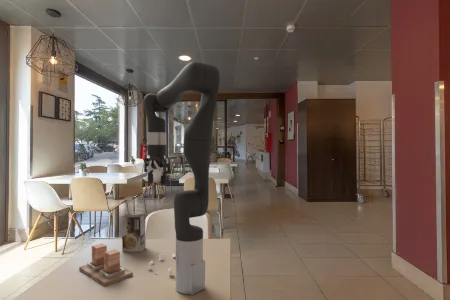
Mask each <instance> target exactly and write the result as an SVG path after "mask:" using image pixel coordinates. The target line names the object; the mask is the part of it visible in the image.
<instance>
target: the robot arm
mask: <svg viewBox="0 0 450 300" xmlns="http://www.w3.org/2000/svg"><path fill="white" fill-rule="evenodd" d="M220 79H221V75H220V71H219V69H218V67H217V66H215V65H212V64H208V63H202V62H198V61H192V62H189V63H188V64H186V65H185V66H184V67H183V68H182V69H181V70H180V72H179V73H178V74H177V75H176V76H175V78H174V79H172V81H171V82H169V84H168V85H166V86H164V87H163V88H162V89H160V90H159V91H158V92H157V94H156V93H147V94H146V95H145V96H144V97H143V101H142V104H143V109H144V112H145V116H146V120H147V139H146V140H147V141H146V155H147V156H149V157H145V158H144V163H143V165H144V166H143V172H144V173H146V174H147V183H148V184H153V183H154V172H155V171H156V170H157V171H158V172H159V173H160V186H165V185H166V184H167V175H169V174H171V158H165V156H166V155H167V133H166V131H167V129H166V128H167V127H166V126H167V125H166V124H167V123H166V119H164V118H162V117H159V116H158V115H157V114H156V113H166V112H169V110H170V109H171V107H172V106H174V105H176V104H177V103H179V102H180V101H181V100H182V99H183V96H184V93H185V92H192V93H199V94H200V93H201V97H200V103H199V107H198V108H197V111H196V112H195V115H194V116H193V117H192V119H191V120H190V122H189V123H188V125H187V126H186V129H185V130H184V138H183V147H182V148H183V150H182V152H183V155H184V158H185V160H186V162H187V163H188V165H189V167H190V169H191V171H192V174H193V178H194V188H193V189H189V190H181V191H177V192H176V193H175V196H174V200H173V212H174V213H173V215H174V216H173V217H174V218H173V219H174V230H175V231H174V232H175V254H176V257H175V290H176V292H178V293H180V294H183V295H190V296H193V295H195V294H197V293H199V292H200V291H203V290H204V289H206V260H204V229H203V228H202V227H200V226H199V225H194V224H191V223H190V222H191V221H190V219H191V218H197V217H202V216H205V215H206V213H207V211H208V209H209V208H208V207H209V198H210V197H209V193H210V192H209V189H210V188H209V187H210V185H209V174H210V161H211V154H212V153H211V151H212V145H213V144H212V143H213V128H214V119H215V111H216V105H217V100H218V95H219V89H220V82H221V81H220Z"/></svg>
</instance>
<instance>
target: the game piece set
mask: <svg viewBox="0 0 450 300" xmlns="http://www.w3.org/2000/svg"><path fill="white" fill-rule="evenodd" d="M158 256H159V261H162V260H164V259H163V258H164V254H162V253H161V254H159V255H158ZM171 257H172V258H176V251H173V253H172V255H171ZM152 265H154V261H153V260H151V261H148V263H147V269H148V270H149V271H150V270H151V268H152V267H151V266H152ZM153 272H154V275H160V273H159V272H156V271H155V270H153ZM167 272H168V276H169V277H171V276H172V275H173V272H174V270H173V268H170V267H169V268H168V270H167Z"/></svg>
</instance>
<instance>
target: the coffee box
mask: <svg viewBox="0 0 450 300" xmlns="http://www.w3.org/2000/svg"><path fill="white" fill-rule="evenodd" d="M121 231H122V232H121V233H122V234H121V235H122V236H121V237H122V239H121V241H122V250H121V251H122V252H131V253H132V252H133V253H134V252H135V253H139V252H140V253H141V252H142V251H144V250H145V249H146V247H147V246H146V213H126V214H124V215H123V216H122V217H121Z"/></svg>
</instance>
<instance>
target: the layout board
mask: <svg viewBox="0 0 450 300" xmlns="http://www.w3.org/2000/svg"><path fill="white" fill-rule="evenodd" d="M106 251H108V250H107V245H106V244H104V243H98V244H94V245H91V261H90V262H87V264H84V265H81V266H79V267H78V268H79V270H78V271H80V272H81V273H83V274H85V275H86V276H88V277H89V278H90V279H92V280H94V281H96V282H97V283H99V284H101V285H102V286H103V287H106V286H108V285H111V284H114V283H116V282H118V281H119V282H120V281H121V280H125V279H128V278H130V277H132V276H134V272H133V271H132V270H130V269H127V268H125V267H123V266H121V265H120V271H118V272H115V273H112V274H107V273H105V272H104V252H106Z"/></svg>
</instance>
